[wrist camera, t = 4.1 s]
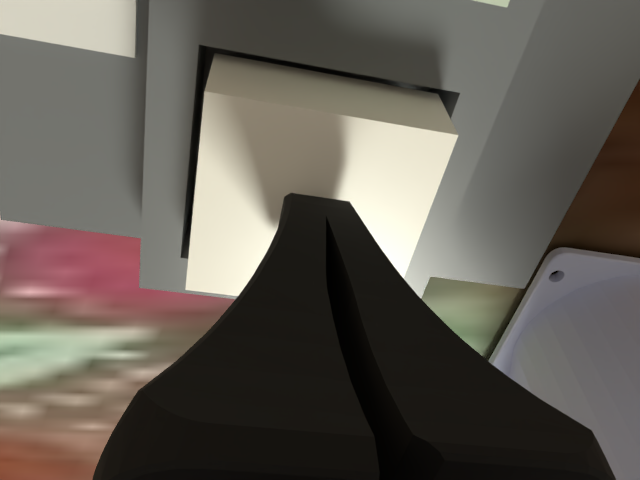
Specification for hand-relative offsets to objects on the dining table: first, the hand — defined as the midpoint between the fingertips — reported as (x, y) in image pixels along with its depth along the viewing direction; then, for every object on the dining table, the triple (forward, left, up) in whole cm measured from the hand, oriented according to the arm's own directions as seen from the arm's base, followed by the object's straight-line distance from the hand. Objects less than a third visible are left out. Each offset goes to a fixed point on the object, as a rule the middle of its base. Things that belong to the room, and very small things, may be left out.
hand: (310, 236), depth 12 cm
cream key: (0, 0, -3) cm, 3 cm away
